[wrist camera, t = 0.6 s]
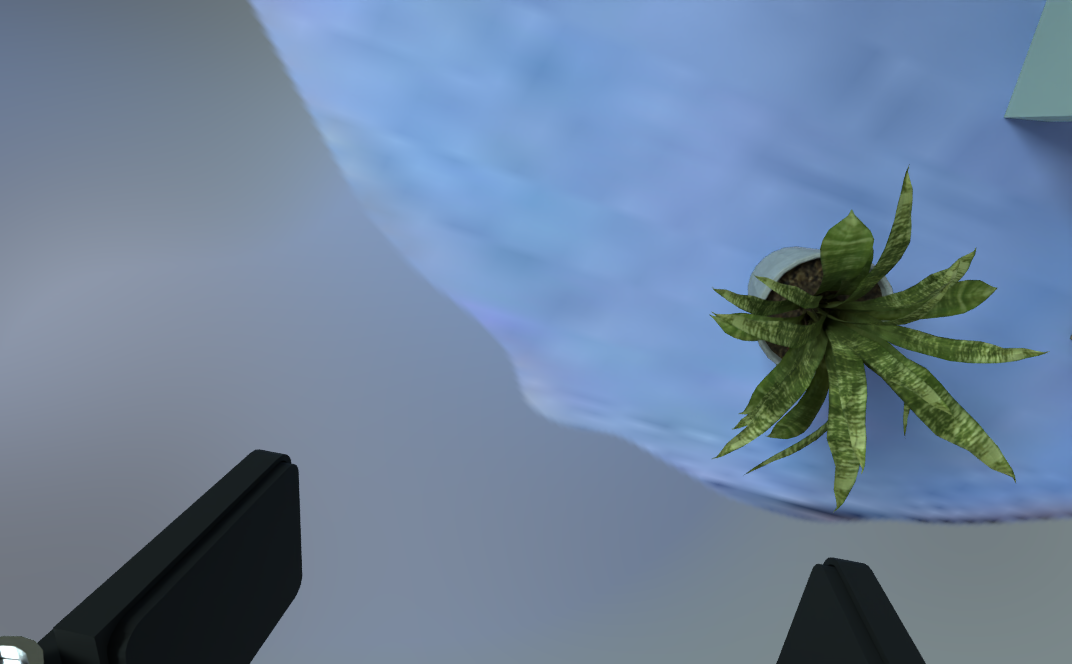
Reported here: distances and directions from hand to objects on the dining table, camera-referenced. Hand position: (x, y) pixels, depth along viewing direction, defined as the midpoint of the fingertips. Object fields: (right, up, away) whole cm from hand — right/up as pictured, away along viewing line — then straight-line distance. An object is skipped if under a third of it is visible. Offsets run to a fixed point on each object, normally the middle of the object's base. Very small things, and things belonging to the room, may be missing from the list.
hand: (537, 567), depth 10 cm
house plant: (+15, +8, +26) cm, 31 cm away
